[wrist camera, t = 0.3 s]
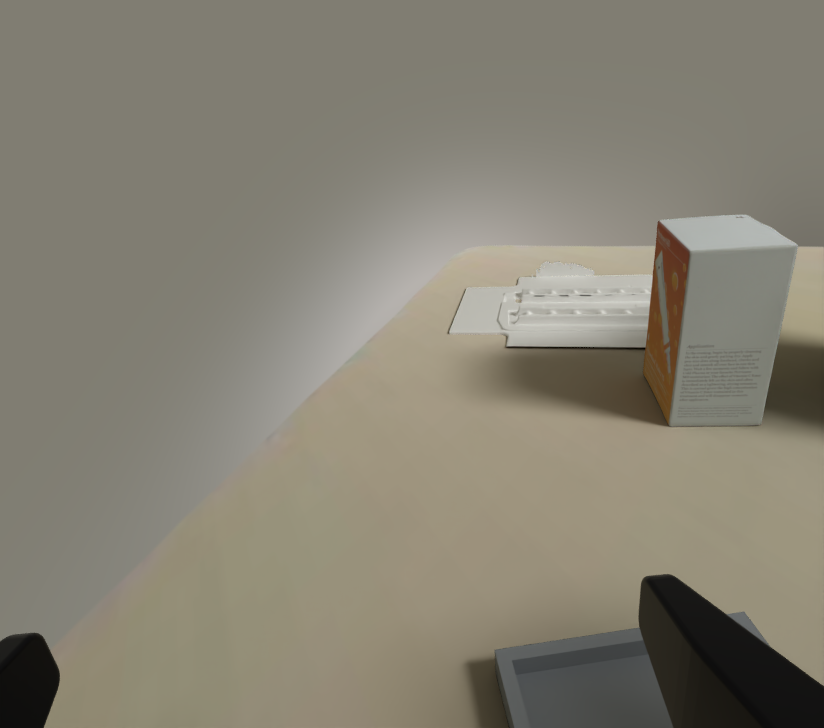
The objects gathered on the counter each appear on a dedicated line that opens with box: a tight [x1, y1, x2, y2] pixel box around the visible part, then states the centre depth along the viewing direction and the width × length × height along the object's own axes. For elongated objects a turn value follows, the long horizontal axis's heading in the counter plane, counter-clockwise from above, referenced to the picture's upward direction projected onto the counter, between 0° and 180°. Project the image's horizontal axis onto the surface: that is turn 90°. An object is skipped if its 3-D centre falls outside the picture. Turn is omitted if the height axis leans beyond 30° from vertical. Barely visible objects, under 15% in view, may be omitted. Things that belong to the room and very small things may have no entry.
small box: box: [643, 215, 798, 427], centre depth 41 cm, size 8×6×13 cm
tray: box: [449, 261, 653, 347], centre depth 61 cm, size 20×28×4 cm
